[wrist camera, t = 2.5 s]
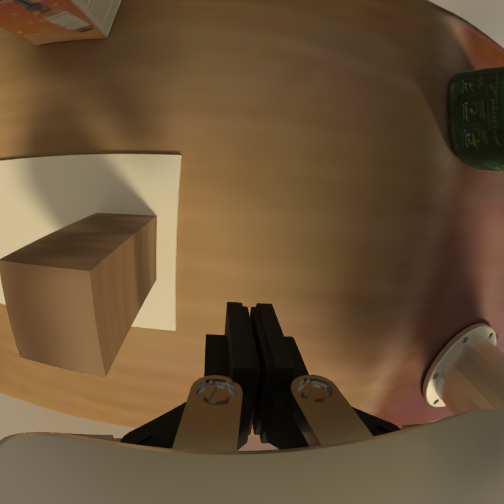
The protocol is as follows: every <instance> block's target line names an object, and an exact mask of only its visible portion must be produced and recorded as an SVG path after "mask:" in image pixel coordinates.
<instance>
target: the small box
mask: <svg viewBox="0 0 504 504" xmlns="http://www.w3.org/2000/svg"><path fill="white" fill-rule="evenodd" d="M121 1H122V0H0V26H1V27H3V28H4V29H6V30H8V31H10V32H12V33H14V34H16V35H18V36H19V37H21V38H23V39H25V40H27V41H28V42H30V43H32V44H34V45H42V44H47V43H53V42H60V41H70V40H82V39H101V38H107V37H108V34H109V32H110V29H111V26H112V24H113V21H114V18H115V16H116V13H117V11H118V8H119V6H120V4H121Z"/></svg>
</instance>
